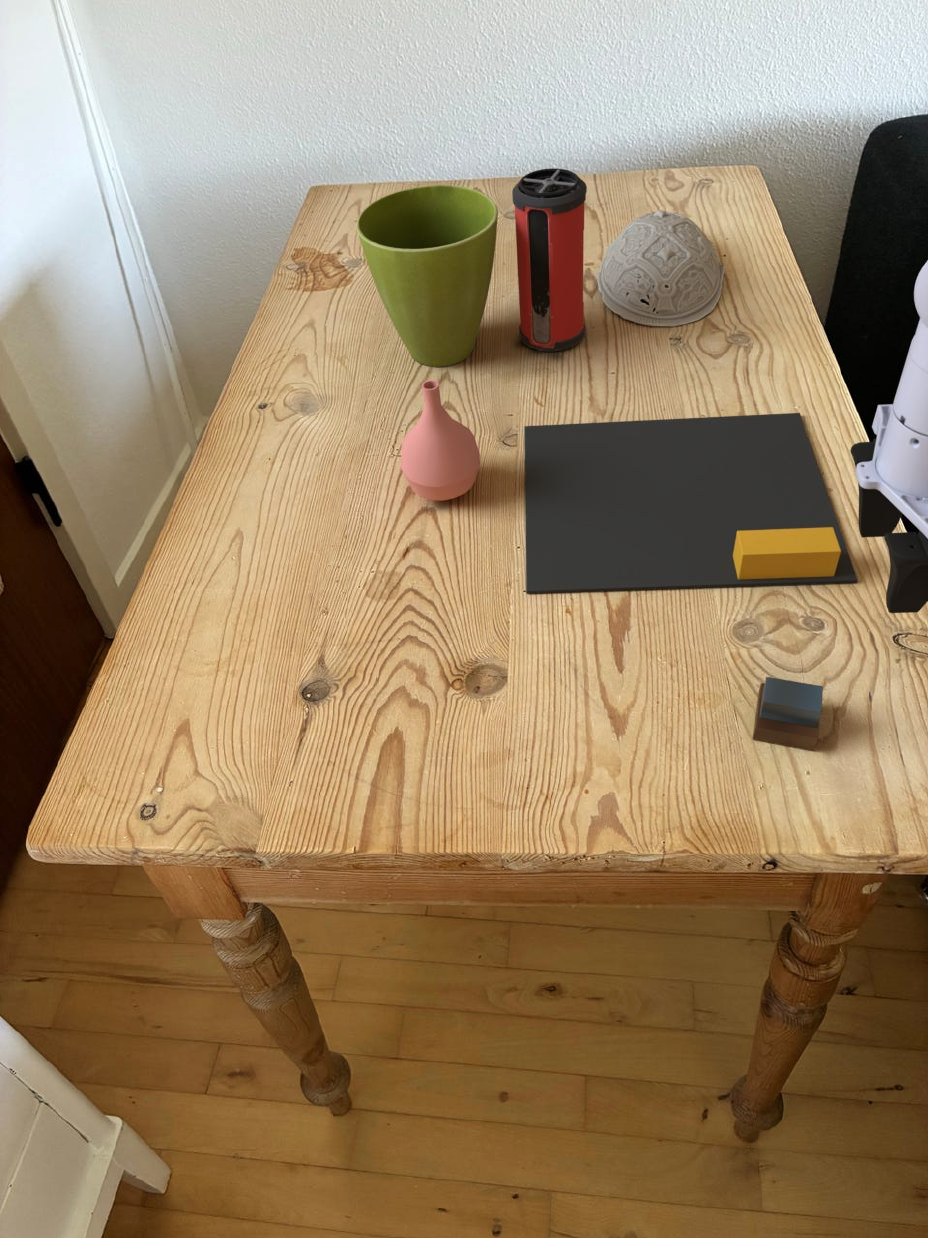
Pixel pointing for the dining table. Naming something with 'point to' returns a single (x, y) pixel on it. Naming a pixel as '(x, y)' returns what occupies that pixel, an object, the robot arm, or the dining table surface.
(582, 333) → the speaker
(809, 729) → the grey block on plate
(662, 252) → the carved stone dome
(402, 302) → the flower pot
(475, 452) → the pink bud vase
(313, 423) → the dining table surface
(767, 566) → the bar
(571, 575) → the mat
